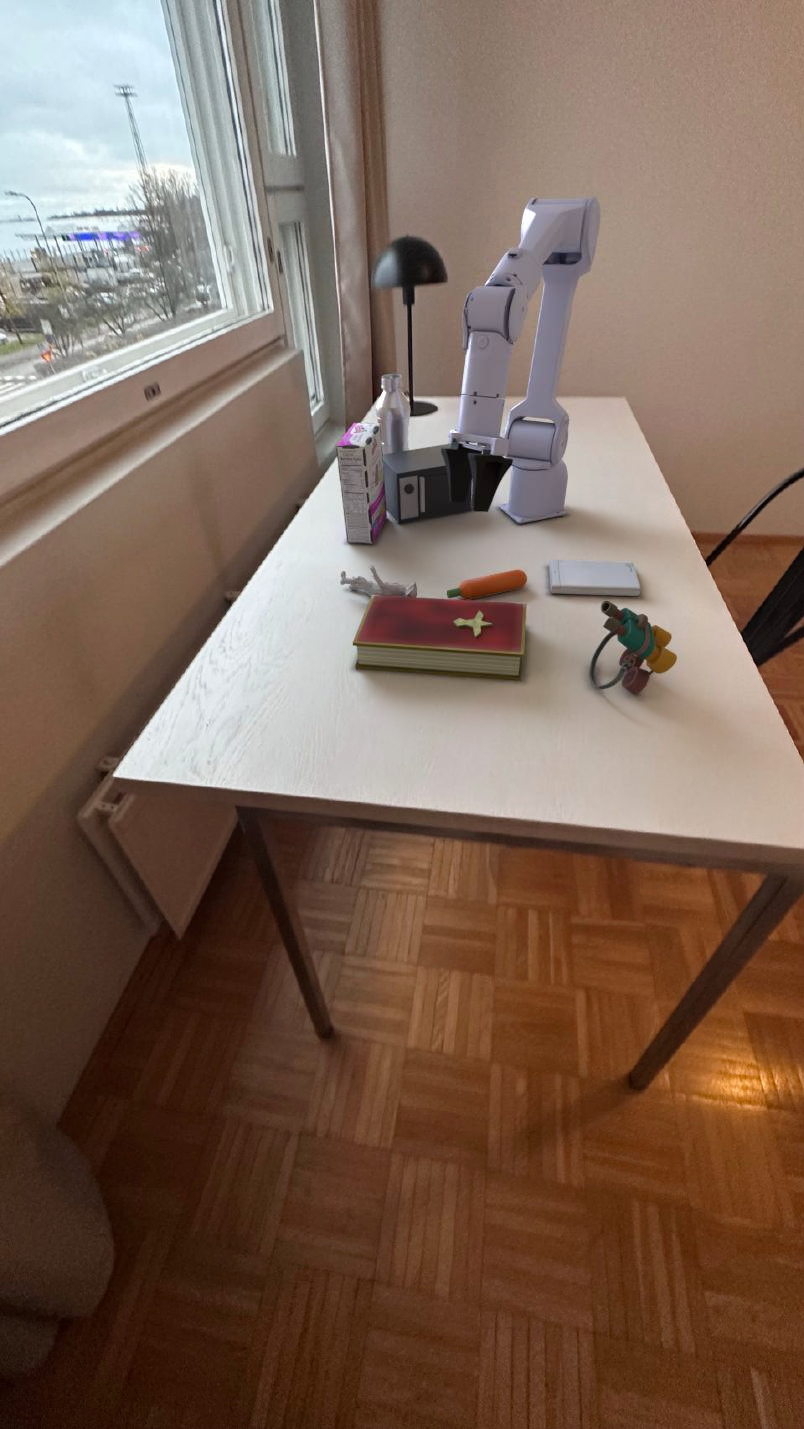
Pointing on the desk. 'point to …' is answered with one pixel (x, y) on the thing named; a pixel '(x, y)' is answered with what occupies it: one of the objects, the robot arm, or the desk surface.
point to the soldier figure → (379, 586)
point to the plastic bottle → (393, 415)
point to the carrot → (489, 585)
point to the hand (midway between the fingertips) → (468, 506)
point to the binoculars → (634, 648)
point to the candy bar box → (362, 482)
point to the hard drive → (593, 578)
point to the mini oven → (419, 485)
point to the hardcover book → (442, 637)
